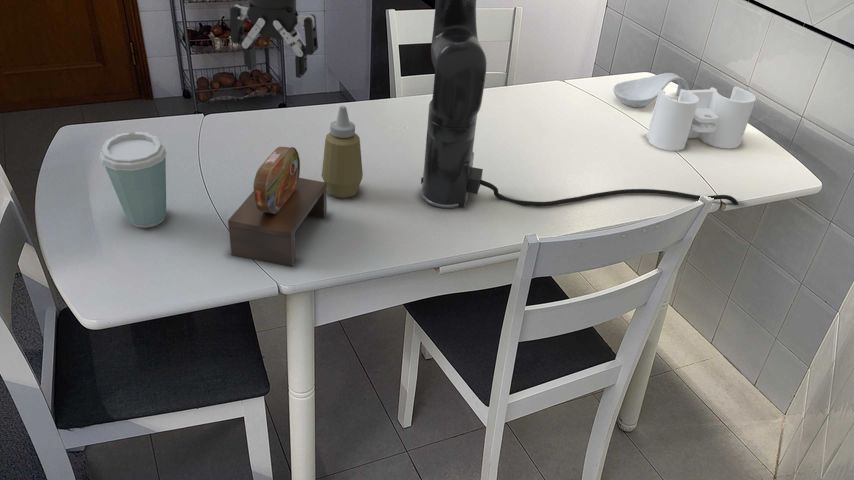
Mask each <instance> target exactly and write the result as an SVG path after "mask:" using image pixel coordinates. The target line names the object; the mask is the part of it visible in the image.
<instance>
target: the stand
mask: <svg viewBox="0 0 854 480" xmlns="http://www.w3.org/2000/svg"><path fill="white" fill-rule="evenodd" d="M327 202H328V201H327V188H326V182H324V181H322V180H321V181H319V180H315V179H309V178H304V177H299V180H298V184H297V187H296V189H295V191H294V192H293V194H292V195H291V196H290V198H289V199H288V200H287V201H286V203H285V204H284V205H283V207H282V208H281V209H280V211H279V212H278V213H276V214H272V213H267V212H261V211H259V210H258V209H257V207H256V202H255V196H254V190H253V191H252V192H251V193H250V195H248V197H247V198H246V199H245V200H244V201H243V203H241V205H240V206H239V207H238V208H237V209H236V211H235V212H234V213H233V214H232V215H230V217H229V218H228V219H227V225H228V234H229V244H230V255H231V256H236V257H240V258H246V259H251V260H256V261H261V262H266V263H270V264H271V263H272V264H276V265H281V266H286V267H291V268H292V267H293V266H294V264H296V242H295V240H296V239H295V233H296V232H297V230H298V229H299V228H300V226H301V225H302V224H303V222H304V220H306V218H307V217H312V218H318V219H324V220H325V218H326V216H327V215H328V214H327V213H328V212H327V211H328V208H327V207H328V206H327Z"/></svg>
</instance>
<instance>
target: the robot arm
mask: <svg viewBox="0 0 854 480" xmlns="http://www.w3.org/2000/svg"><path fill="white" fill-rule="evenodd" d="M434 5H435V6H434V19H433V28H432V29H433V30H432V37H431V38H432V39H431V45H430V59H431V62H432V66H433V68H434V76H433V77H434V79H433V88H432V99H431V100H430V102H429V104H428V113H427V128H426V137H425V139H426V140H425V150H424V162H423V163H424V164H423V174H422V175H423V176H422V177H421V178H420V185H421V193H420V195H421V198H422V199H423V201H424V202H425V203H427V204H429V205H431V206H433V207H436V208H441V209H454V208H465V206H466V203H467V202H468V198H469V196H470V194H472V195H473V194H474V195H478V193H479V190H480V188H481V186H483V187H485V188H488V189H490V190H492V191H493V195H494V196H495V198H497V199H499V200H500V201H504V202H505V201H506V202H507V203H511V204H515V205H519V206H528V207H553V206H559V205H564V204H570V203H571V204H572V203H576V202H582V201H587V200H591V199H592V200H593V199H597V198H604V197H611V196H616V195H617V196H618V195H628V194H629V195H630V194H650V195H651V194H652V195H653V194H654V195H665V196H666V195H667V196H674V197H680V198H685V199H691V200H697V201H700V200H699V198H700V196H701V195H697V194H693V193H692V194H691V193H686V192H680V191H673V190H667V189H654V188H627V189H616V190H608V191H603V192H595V193H590V194H585V195H580V196H575V197H574V196H573V197H567V198H562V199H557V200H556V199H555V200H550V201H534V200H519V199H514V198H510V197H507V196H505V195H503V194H501V193H499V189H498V187H497V186H496V185H494V184H493V183H491V182H488V181H486V180H483V179H482V178H483V172H484V169H483V168H479V167H475V166H474V157H475V153H474V144H475V137H476V129H477V120H478V113H479V112H480V110H481V107H482V103H483V96H484V90H485V89H484V88H485V83H486V75H487V57H486V52H485V51H484V49H483V47H482V46H481V43H480V41H479V38H478V37H479V36H478V28H477V27H478V26H477V0H435V3H434ZM229 12H230V13H229V17H230V40H231V42H232V43H233V44H238V45H240V46H241V47H242V49H243V50H242V51H243V63H244V65H245V67H247V70H249V71H254V70H255V69H256V68H257V52H256V51H257V50H256V45H255V44H254V43H255V42H256V41H257V40H258V38H259V37H260V36H262V38H264V39H271V38H272V39H275V40H277V41H282V40H284V42H285V43H286V44H287V46H289V47H290V48H291V49H292V50H293V52H294V53H295V56H294V63H295V77H296V78H298V79H302V77H303V76H304V75H305V74H306V73H307V71H308V57H307V56H308V55H309V56H313V54H314V53H315V52H316V51H317V50H318V48H319V41H318V29H317V17H316V15H315V14H313V13H310V14H308V15H301V14H299V13H298V11H297V0H248V7H247V6H244V5H243V4H242V3H240V2H238V3H236V4H234V5H233V6H231V7H230V9H229ZM246 18H248V19H249V21H250V22H251V24H252V28H251V29H250V31H249V32H248V33H247V35H245V33H244V32H245V31H244V30H245V29H244V27H245V26H244V20H245V19H246ZM298 24H299V25H300V27H301V29H302V30H303V31H304V39H305V41H304V40H303V39H302V35H301V33H300V32H299V31H298V29H297V28H296V27H297V25H298ZM707 196H708V197H711V198H714V200H713V201H715V200H727V201H729V202H731V204H733V205H734V206H735V205H736V206H738V205H739V202H738V200H737V199H736V198H735V197H733V196H732V195H729V194H716V195H714V194H713V195H707Z"/></svg>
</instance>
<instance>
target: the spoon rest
mask: <svg viewBox="0 0 854 480" xmlns="http://www.w3.org/2000/svg"><path fill="white" fill-rule="evenodd" d="M673 81H676V82H677V89H676V91H675V94H676V95H677V96H678V97H679V94H680V90H681V89H684V90H690V86H689V83H688V81H687V80H686V79H684V78H683V77H680V76H679V75H678V74H676V73H673V72H663V73H660V74H654V75H650V76H647V77H642V78H636V79H632V80H626V81H621V82H619V83H615V85H614V86H613V88H612V90H613V94H614V96H615V97H616V99H617V100H618V101H619V102H620V103H622V104H623V105H625V106H628V107H630V108H636V109H637V108H638V109H639V108H645V107H646V106H648V105H650V104H651V103H653V102H654V101H655V100H657V96H658V93H659V90H663V91H664V89H665V88H666V87H667V86H668V85H669V84H670V83H671V82H673Z"/></svg>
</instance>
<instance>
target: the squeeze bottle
mask: <svg viewBox="0 0 854 480" xmlns="http://www.w3.org/2000/svg"><path fill="white" fill-rule="evenodd" d="M329 129H330V130H329V131H330V132H328V133H327V134H325V140H324V148H323V159H322V169H321V178H322V180H323V182H326V192H328V193H327V194H329V195H330V196H332V197H336V198H341V199H345V198H352V197H354V196H355V195H356V194H357V193H358V190H359V189H360V188H359V187H360V185H361V183H362V180H363V175H364V172H363V161H362V147H361V138H360V136H359V134H357V133H356V124H355V123H354V122H352V121H350V118H349V114H348V109H347V106H346V105H339V108H338V113H337V117H336V120H334V121H332V122H331V123H330V127H329Z"/></svg>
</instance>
